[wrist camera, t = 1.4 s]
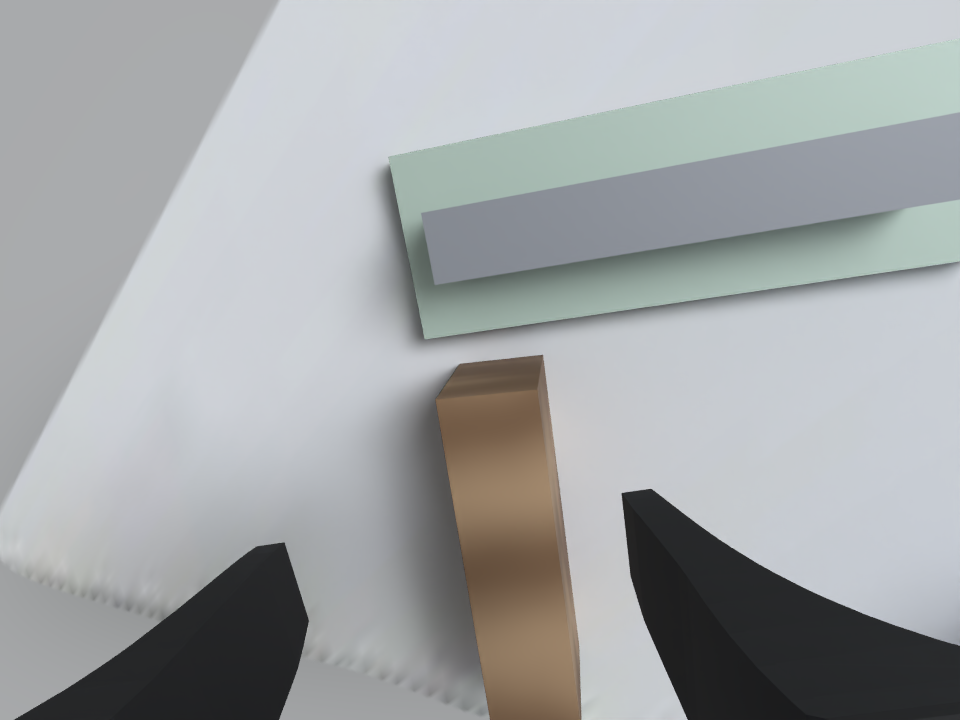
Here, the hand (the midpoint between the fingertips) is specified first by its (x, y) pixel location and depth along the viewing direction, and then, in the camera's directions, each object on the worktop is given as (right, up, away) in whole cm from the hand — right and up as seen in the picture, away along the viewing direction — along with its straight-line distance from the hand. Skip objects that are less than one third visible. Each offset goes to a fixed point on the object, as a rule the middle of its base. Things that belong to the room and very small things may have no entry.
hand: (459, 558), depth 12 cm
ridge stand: (+8, +10, +10) cm, 16 cm away
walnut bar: (+2, -2, +14) cm, 14 cm away
